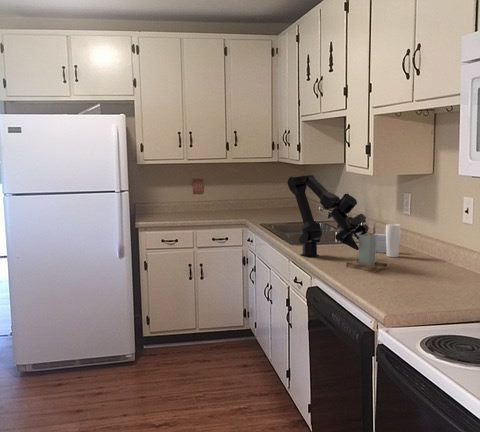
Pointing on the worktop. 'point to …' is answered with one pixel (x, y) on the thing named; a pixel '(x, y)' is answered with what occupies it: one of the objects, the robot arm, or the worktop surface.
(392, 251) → the white cylinder
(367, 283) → the worktop surface
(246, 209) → the worktop surface
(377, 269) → the walnut trough
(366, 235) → the block
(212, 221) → the worktop surface
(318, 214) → the worktop surface
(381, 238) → the medicine box
